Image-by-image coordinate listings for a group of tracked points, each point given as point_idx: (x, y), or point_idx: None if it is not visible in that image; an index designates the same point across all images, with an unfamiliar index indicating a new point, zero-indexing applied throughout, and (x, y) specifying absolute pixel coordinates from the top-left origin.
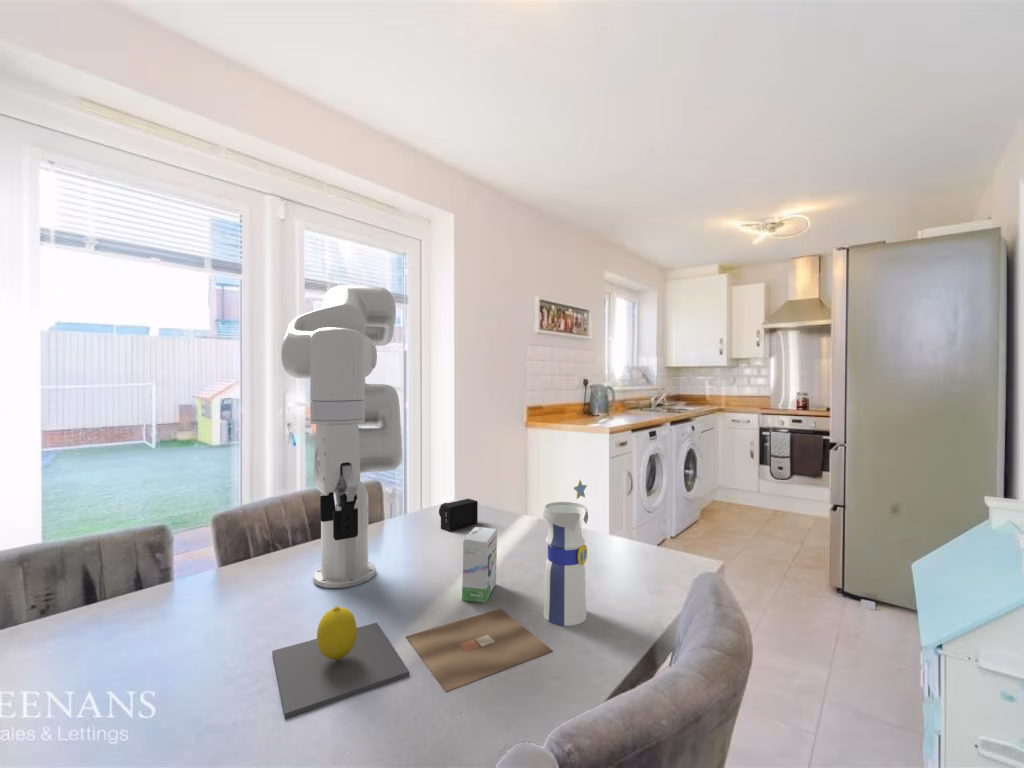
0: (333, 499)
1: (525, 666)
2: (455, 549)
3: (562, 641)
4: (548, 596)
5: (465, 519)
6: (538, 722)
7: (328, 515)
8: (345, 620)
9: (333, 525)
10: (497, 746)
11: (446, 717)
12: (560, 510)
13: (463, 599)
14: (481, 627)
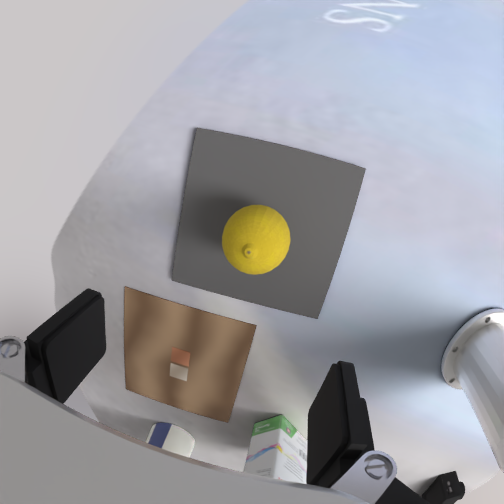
0: (319, 457)
1: (119, 359)
2: (400, 465)
3: (135, 403)
4: (166, 444)
5: (431, 495)
6: (60, 307)
7: (325, 393)
8: (225, 251)
9: (68, 311)
10: (54, 268)
11: (95, 262)
12: None
13: (279, 416)
14: (206, 388)
